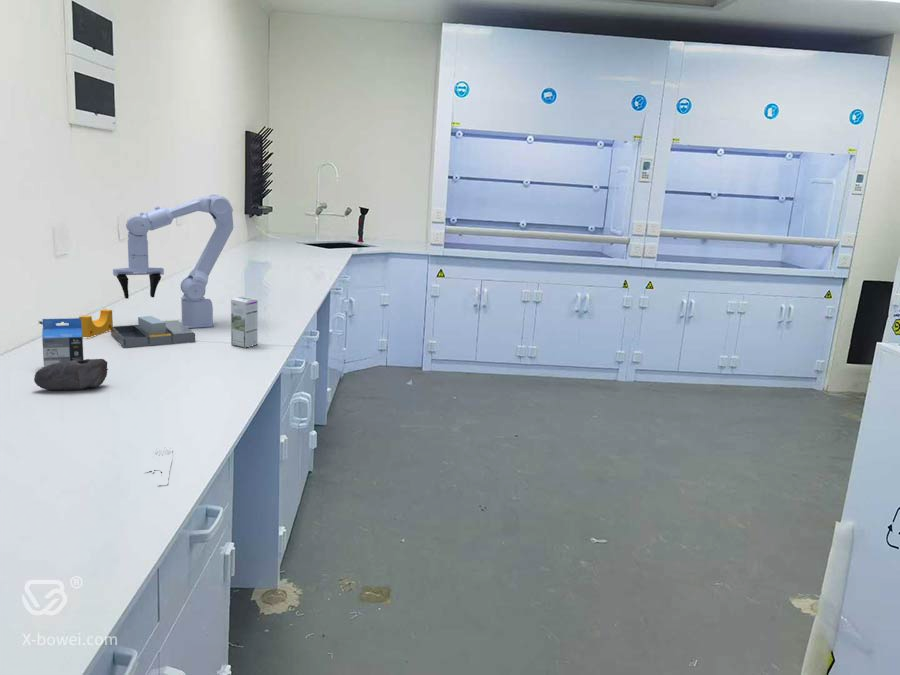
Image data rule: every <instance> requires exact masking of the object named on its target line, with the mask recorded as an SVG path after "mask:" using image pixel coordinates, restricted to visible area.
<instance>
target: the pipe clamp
mask: <svg viewBox="0 0 900 675" xmlns="http://www.w3.org/2000/svg"><path fill="white" fill-rule="evenodd" d="M78 318H81V324H82V335H83V337H91V336H93V337H95V336H94V335H96V336H98V335H97V334H99V335H101V334H100V333H102V334H104V333H103V332H105V333H107V332H106V331H108V332H110V331H109V330H111V327H114V323H113V320H114V319H113V310H112V309H105V308H104V309H101V310H100V314H99V318H98V319H95V320H93V318H92V315H80V316H78ZM91 338H92V337H91Z"/></svg>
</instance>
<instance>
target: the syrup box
mask: <svg viewBox="0 0 900 675" xmlns="http://www.w3.org/2000/svg"><path fill="white" fill-rule="evenodd" d="M258 306H259V305H258V299H257V298H251V297H245V296H238V297H234V298H231V299H230V312H231V313H230V317H231V318H230V319H231V322H230V327H231V328H230V329H231V333H230V336H231V340H230V341H231V346H233V345H234V346H235V347H238V346H239V347H238V348H242V347H244V348H243V349H247V348H246V347H249V348H251V347H250V346H252V345H256V344H257V345H258V343H259V342H258V340H259V339H258V337H259V335H258V324H259V323H258V318H259V317H258V314H259V313H258V311H259V308H258ZM257 345H256V346H257Z"/></svg>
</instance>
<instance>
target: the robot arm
mask: <svg viewBox="0 0 900 675" xmlns="http://www.w3.org/2000/svg"><path fill="white" fill-rule="evenodd" d="M233 210H234V209H233V207H232V204H231V202H230V201H229V199H227V198H226V197H225V196H222V195H221V196H220V195H218V194H210V195H208V196H201V197H198V198H197V197H196V198H194V199H192V200H190V201H187V202H185V203H182V204H180V205H179V204H178V205H176V206H174V207H171V208H167V207H164V206H161V207H160V206H159V205H157V206H154V209H152V210H149V211H146V212H143V211H141V212H139V215H133V216H130V217H128V219H127V220H126V224H125V228H126V230H127V231H128V232H127V238H128V239H127V255H128V256H127V259H128V262H127V263H128V267H122V268H121V267H120V268H112V275H113V276H114V277H116V278H117V280H118V282H119V284H120V286H121V289H122V292H123V295H124V299H125V300H127V299H129V297H130V295H129V277H128V276H145V275H148V276H149V289H150V290H149V291H150V292H149V294H150V295H149V296H150V297H151V298H155V297H156V296H155V295H156V291H157V287H158V285H159V283H160V281H161V279H162V275H165V273H164V272H165V269H164V268H163V267H149V240H148V232H149V231H150V232H151V231H155V230H157V229H160V228H163V227H166V226H169V225H172V222H173V220H174V219H176V218H179V217H184V216H187V215H189V214H190V215H191V214H193V213H196V212H203V213H209V214H210V216H211V217H212V219H213V222H214V224H215V228H214V230H213V232H212V233H211V236H210V238H209V239H208V241H207V243H206V245H205V247H204V249H203V251H202V253H201V255H200V257H199V259H198V260H197V263H196V265H195V266H194V267H193V269H192V270H191V271H190V272H189V274H188V275H187V277H185V278H183V280H182V281H181V283H180V290H181V291H182V293H183V295H182V297H181V303H180V304H181V321H179V322H180V323H182V324H183V325H185V326H186V327H187V328H189V329H197V328H210V327H215V326H214V313H213V311H214V307H213V302H212V299H210V298H205V295H206V289H207V288H206V286H207V285H208V282H209V276H210V274H211V272H212V270H213V269H214V266H215V264H216V263H217V261H218V258H219V257H220V255H221V252H222V251H223V249H224V247H225V245H226V243H227V241H228V240H229V238H230V236H231V234H232V232H233V231H234V220H233V219H234V218H233V212H234V211H233Z"/></svg>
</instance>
